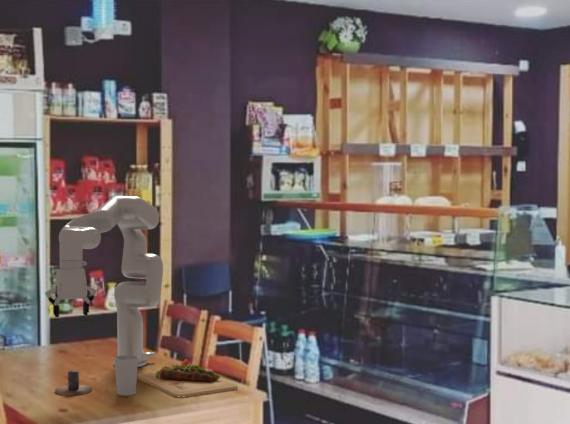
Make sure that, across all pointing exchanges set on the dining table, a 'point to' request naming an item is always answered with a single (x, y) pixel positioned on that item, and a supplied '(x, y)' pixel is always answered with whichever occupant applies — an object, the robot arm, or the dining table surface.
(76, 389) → the lid
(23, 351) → the dining table surface
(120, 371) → the cup
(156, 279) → the robot arm
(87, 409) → the dining table surface
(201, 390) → the cutting board
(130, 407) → the dining table surface
